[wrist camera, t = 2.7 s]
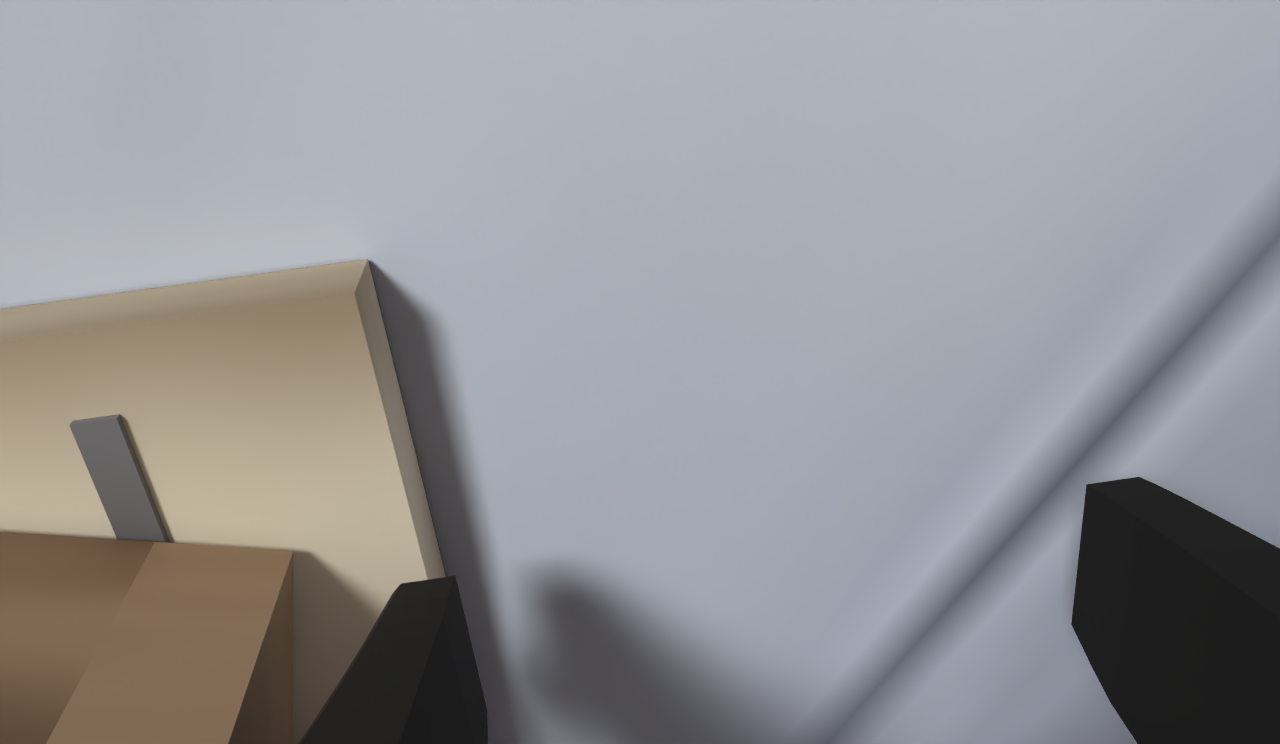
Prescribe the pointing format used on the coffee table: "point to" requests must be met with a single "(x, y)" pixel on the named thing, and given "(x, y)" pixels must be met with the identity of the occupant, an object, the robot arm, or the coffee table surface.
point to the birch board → (227, 440)
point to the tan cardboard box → (143, 642)
